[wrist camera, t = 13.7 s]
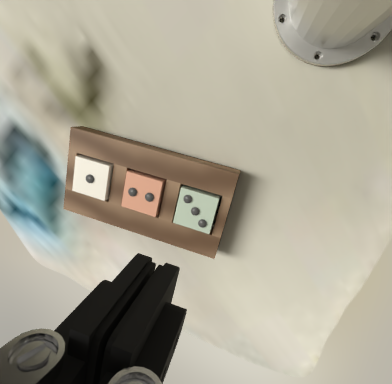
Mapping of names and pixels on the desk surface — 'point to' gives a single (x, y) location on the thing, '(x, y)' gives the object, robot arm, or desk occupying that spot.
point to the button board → (158, 166)
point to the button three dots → (196, 209)
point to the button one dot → (92, 177)
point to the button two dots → (143, 192)
